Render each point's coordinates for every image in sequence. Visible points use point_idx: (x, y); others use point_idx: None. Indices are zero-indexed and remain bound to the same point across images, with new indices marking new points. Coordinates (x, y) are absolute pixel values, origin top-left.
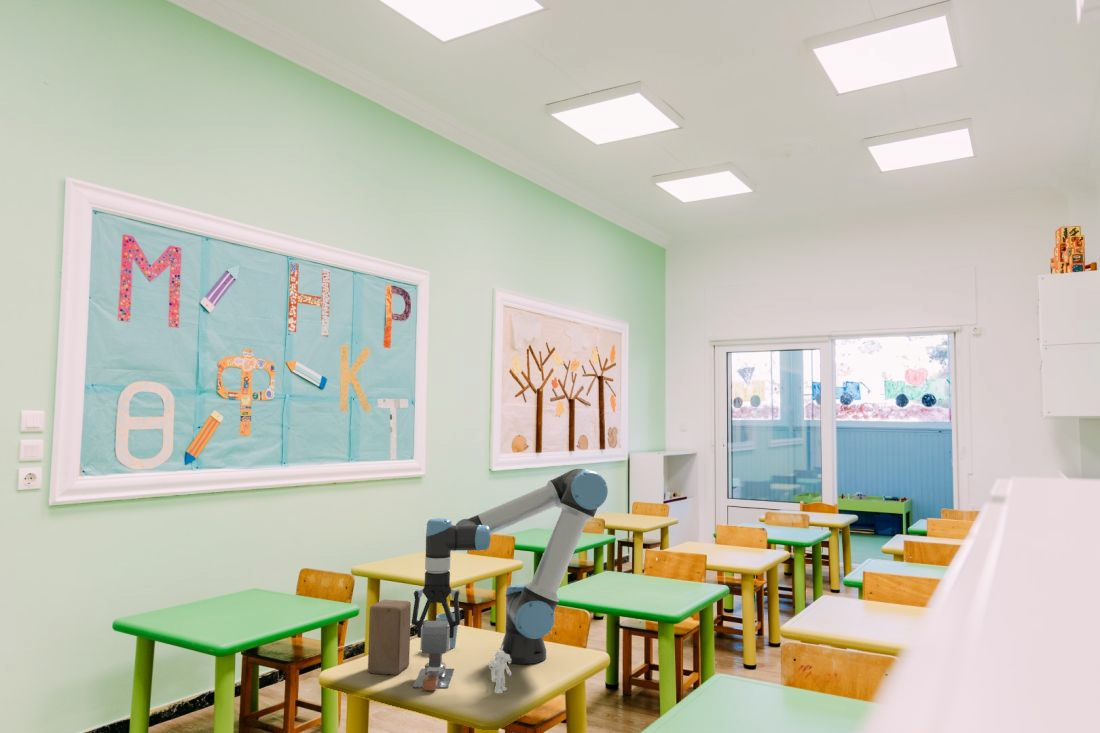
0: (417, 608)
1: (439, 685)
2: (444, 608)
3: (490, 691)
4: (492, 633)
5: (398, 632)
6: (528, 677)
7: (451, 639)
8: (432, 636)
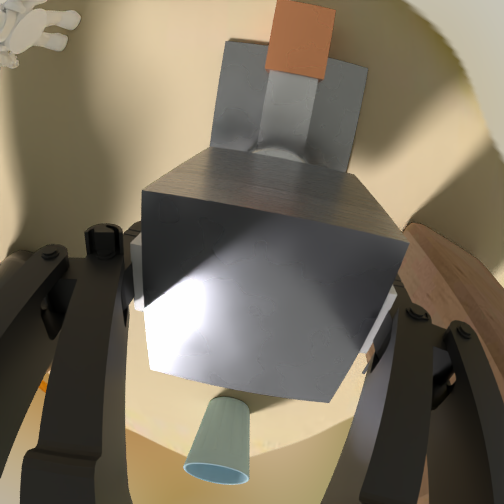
0: (488, 447)
1: (260, 58)
2: (88, 417)
3: (89, 21)
4: (142, 432)
5: (485, 320)
6: (7, 149)
7: (213, 415)
8: (296, 186)
